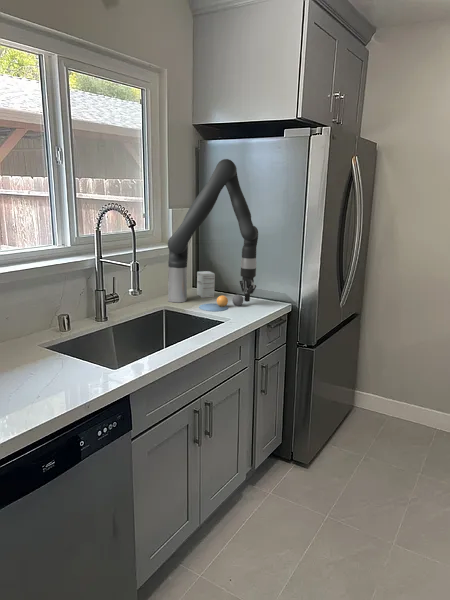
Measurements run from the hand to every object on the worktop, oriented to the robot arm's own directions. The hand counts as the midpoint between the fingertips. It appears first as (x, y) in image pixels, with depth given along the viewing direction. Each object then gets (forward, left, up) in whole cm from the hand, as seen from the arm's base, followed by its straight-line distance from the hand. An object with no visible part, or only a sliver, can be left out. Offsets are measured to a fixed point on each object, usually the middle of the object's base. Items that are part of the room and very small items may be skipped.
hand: (246, 301), depth 229 cm
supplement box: (-19, +18, -2) cm, 26 cm away
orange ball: (-13, -5, +1) cm, 14 cm away
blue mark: (-17, -6, -2) cm, 19 cm away
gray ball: (-5, -3, +1) cm, 6 cm away
